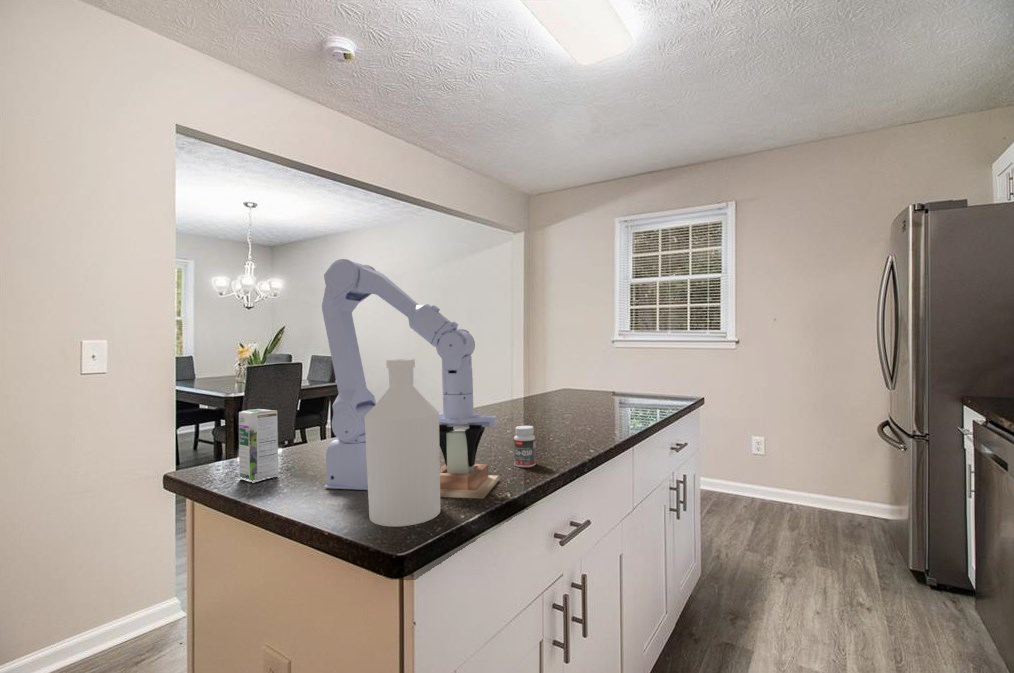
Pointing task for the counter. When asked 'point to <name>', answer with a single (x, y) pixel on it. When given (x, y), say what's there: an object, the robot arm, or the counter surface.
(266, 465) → the syrup box
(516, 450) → the pill bottle
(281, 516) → the counter surface
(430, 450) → the bottle
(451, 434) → the peg
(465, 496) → the socket block
